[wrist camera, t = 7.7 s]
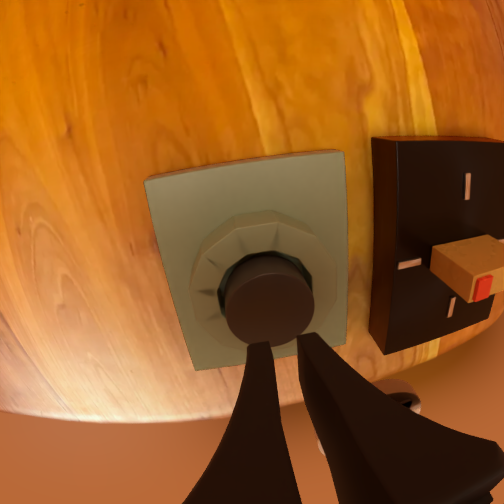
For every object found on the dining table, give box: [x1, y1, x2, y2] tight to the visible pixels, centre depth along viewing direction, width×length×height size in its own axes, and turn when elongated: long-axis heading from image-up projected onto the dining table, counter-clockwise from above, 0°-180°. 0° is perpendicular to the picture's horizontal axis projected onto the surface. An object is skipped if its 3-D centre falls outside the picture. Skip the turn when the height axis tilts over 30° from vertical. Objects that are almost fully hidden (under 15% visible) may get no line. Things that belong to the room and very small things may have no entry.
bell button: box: [224, 255, 315, 347], centre depth 13 cm, size 4×4×2 cm
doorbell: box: [144, 149, 348, 371], centre depth 15 cm, size 11×9×3 cm
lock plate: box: [369, 136, 504, 355], centre depth 16 cm, size 12×9×3 cm
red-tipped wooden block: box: [430, 234, 504, 303], centre depth 13 cm, size 4×1×4 cm, turn 98°
